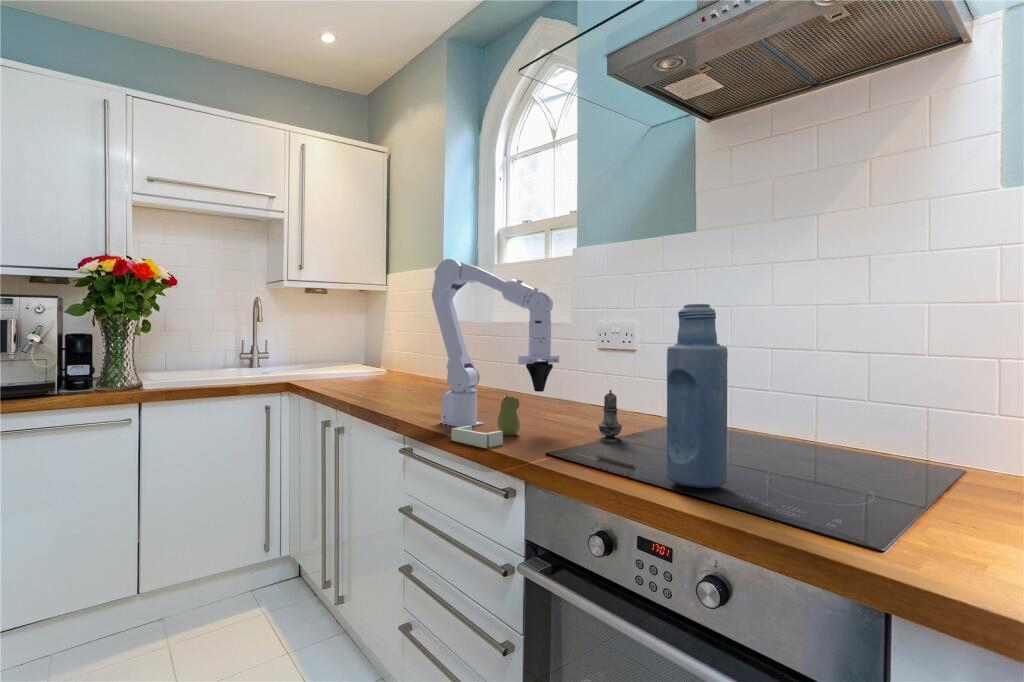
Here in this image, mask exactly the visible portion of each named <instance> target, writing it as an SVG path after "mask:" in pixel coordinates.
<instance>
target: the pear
mask: <svg viewBox="0 0 1024 682" xmlns="http://www.w3.org/2000/svg"><path fill="white" fill-rule="evenodd" d="M502 398H503V399H502V400H501V403H500V411H499V412H498V415H497V428H498V431H503V437H504V436H506V437H514V436H516V435H518V433H519V431H520V430H521V421H520V419H519V416H518V412H517V411H518V409H519V407H520V399H519V398H517V397H514V396H508V395H504V396H503V397H502Z"/></svg>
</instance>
